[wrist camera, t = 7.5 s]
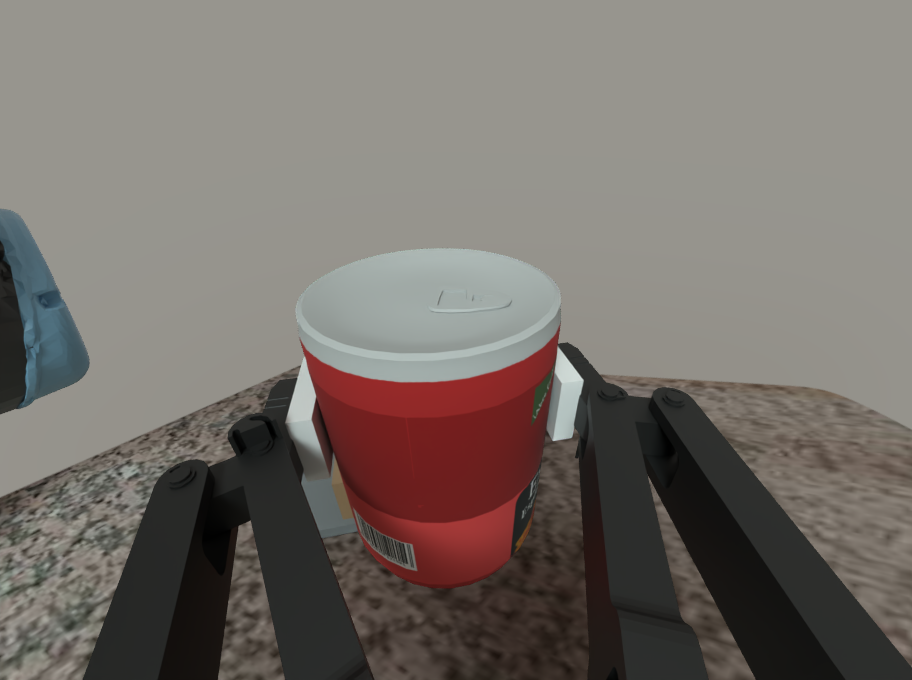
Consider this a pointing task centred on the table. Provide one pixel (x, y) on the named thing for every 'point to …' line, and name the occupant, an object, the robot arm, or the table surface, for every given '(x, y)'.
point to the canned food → (435, 402)
